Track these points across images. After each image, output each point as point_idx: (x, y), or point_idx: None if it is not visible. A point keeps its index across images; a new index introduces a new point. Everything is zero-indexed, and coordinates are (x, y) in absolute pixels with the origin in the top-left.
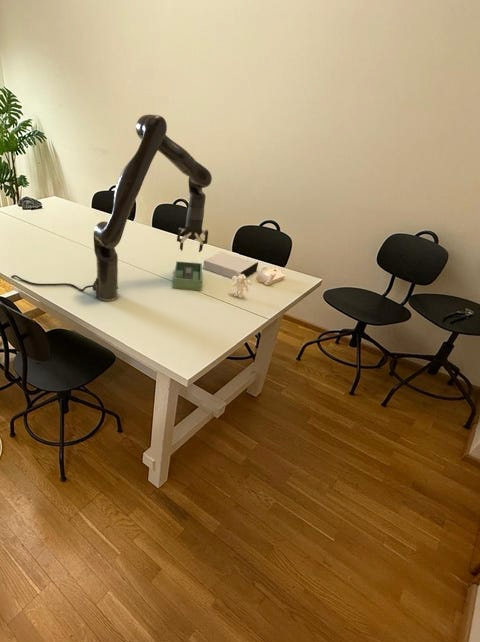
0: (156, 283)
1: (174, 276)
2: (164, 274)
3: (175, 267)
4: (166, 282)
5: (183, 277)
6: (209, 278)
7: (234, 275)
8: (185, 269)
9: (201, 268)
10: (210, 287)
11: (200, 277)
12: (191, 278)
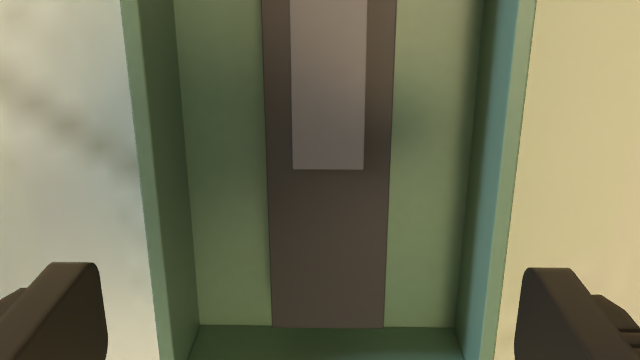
0: (7, 259)
1: (159, 352)
2: (33, 8)
3: (128, 75)
4: (103, 219)
5: (271, 280)
6: (609, 13)
7: None
8: (283, 27)
9: (525, 39)
10: (575, 248)
11: (481, 245)
12: (368, 289)
